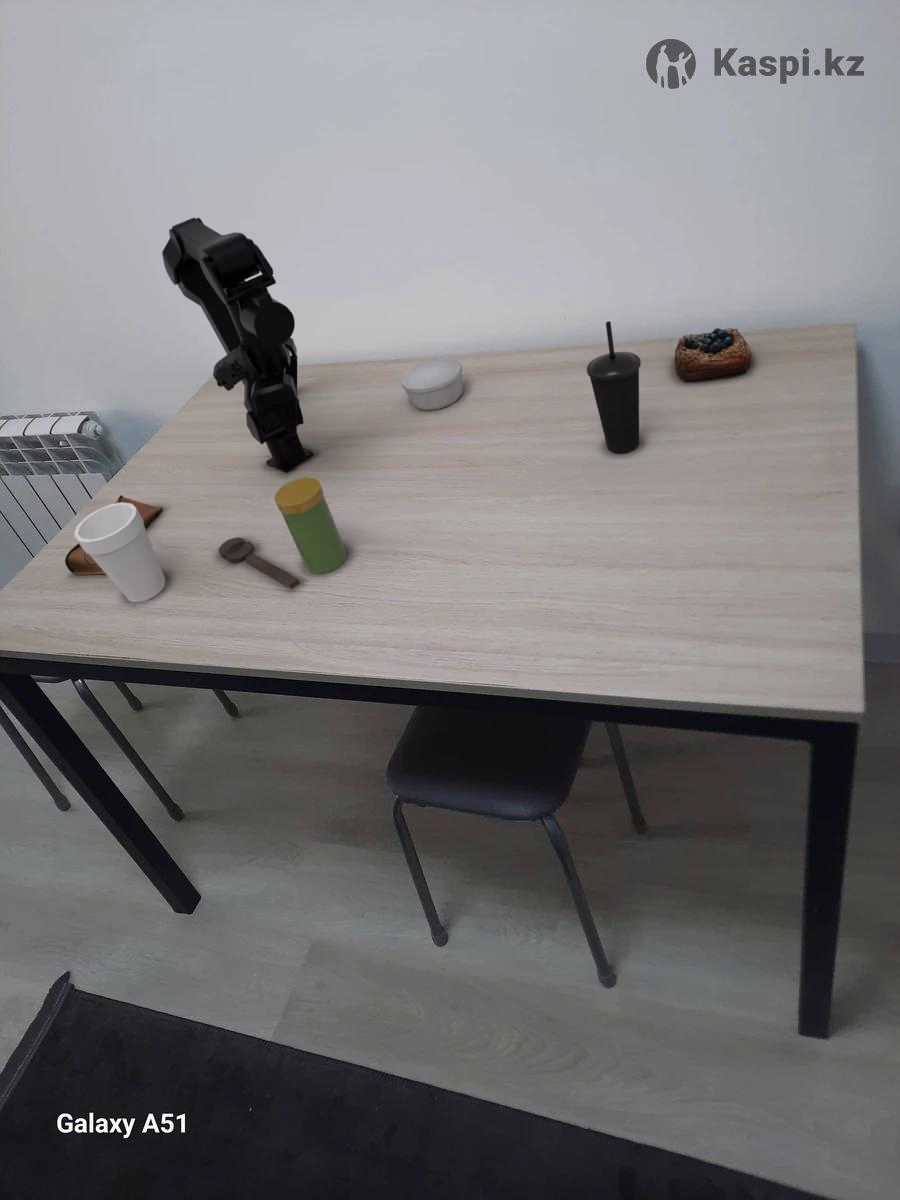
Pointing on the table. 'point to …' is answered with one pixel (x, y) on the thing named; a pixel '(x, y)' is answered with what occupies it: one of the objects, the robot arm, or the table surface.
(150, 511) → the sunglasses case
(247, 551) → the spoon
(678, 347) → the pastry
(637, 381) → the drinking cup
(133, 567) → the foam cup
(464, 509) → the table surface
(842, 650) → the table surface
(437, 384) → the ramekin
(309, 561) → the pickle jar
